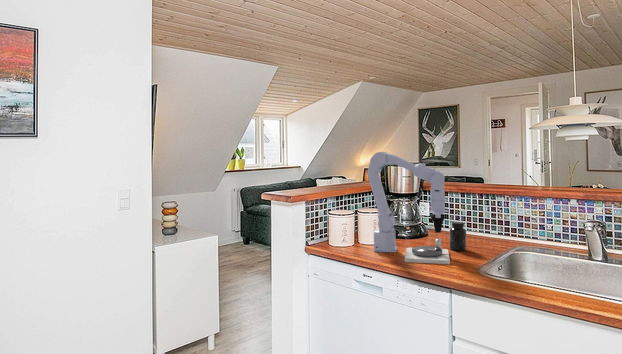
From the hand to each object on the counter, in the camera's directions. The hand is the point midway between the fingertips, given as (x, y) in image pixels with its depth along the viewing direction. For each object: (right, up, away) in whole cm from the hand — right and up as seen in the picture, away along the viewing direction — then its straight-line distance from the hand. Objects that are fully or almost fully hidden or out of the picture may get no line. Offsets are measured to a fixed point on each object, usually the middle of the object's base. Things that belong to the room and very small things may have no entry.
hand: (437, 231), depth 161 cm
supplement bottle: (+11, -9, +6) cm, 15 cm away
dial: (-6, -8, -4) cm, 11 cm away
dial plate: (-6, -10, -4) cm, 12 cm away
